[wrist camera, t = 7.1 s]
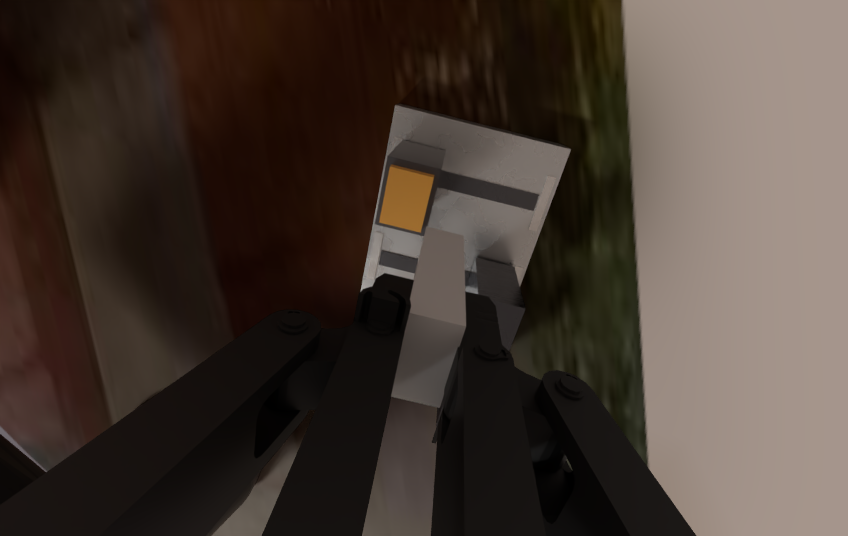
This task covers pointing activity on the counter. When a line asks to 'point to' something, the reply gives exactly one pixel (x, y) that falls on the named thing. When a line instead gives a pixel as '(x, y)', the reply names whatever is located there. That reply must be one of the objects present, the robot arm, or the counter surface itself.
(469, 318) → the robot arm
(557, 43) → the counter surface
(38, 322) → the counter surface
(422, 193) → the block
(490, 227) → the panel
